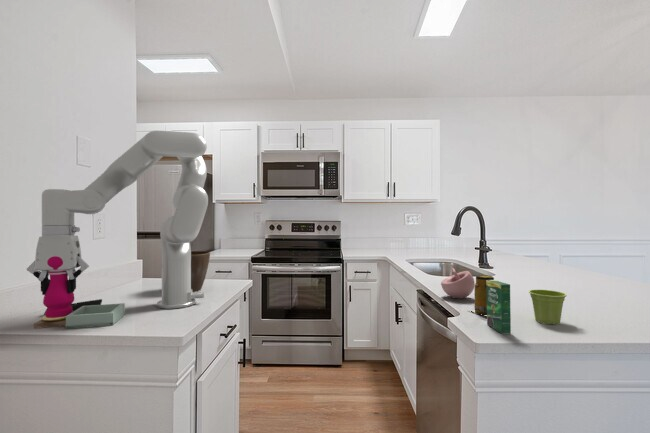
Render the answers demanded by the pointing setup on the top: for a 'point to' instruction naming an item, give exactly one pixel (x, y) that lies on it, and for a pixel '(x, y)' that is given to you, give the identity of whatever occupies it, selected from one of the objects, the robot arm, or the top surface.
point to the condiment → (481, 294)
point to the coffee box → (498, 306)
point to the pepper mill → (57, 291)
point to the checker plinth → (50, 323)
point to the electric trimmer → (84, 304)
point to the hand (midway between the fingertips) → (58, 292)
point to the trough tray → (95, 316)
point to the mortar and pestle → (458, 284)
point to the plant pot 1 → (198, 268)
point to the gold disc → (53, 318)
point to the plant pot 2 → (547, 305)
